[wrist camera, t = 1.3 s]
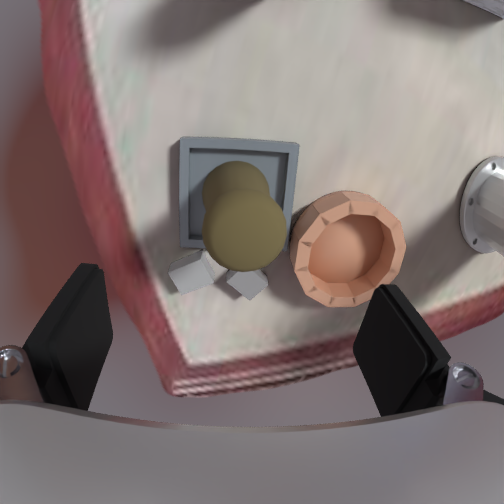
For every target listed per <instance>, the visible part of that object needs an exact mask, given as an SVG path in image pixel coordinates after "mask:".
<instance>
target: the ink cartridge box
mask: <svg viewBox="0 0 504 504" xmlns="http://www.w3.org/2000/svg"><path fill="white" fill-rule="evenodd" d="M463 1H466V2H468V3H471V4H473V5H475V6H478V7H480V8H482V9H484V10H486V11H489V12H491V13H493V14H495V15H497V16H499V17H501V18H503V19H504V0H463Z"/></svg>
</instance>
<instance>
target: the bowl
mask: <svg viewBox="0 0 504 504" xmlns="http://www.w3.org/2000/svg"><path fill="white" fill-rule="evenodd" d="M405 250H406V243H405V239H404V234H403V230H402V226H401V222H400V220H398V219H397V218H396V217H395V216H394V215H393V214H392V213H391V212H389V211H388V210H387V209H386V208H385V207H384V206H383V205H381V204H380V203H379V202H378V201H376V200H375V199H374V198H372V197H371V196H370V195H366V194H362V193H360V192H355V191H338V192H333V193H330V194H327V195H325V196H323V197H321V198H319V199H317V200H316V201H314V202H313V203H312V204H310V205H309V206H308V207H307V208H306V209H305V210H304V211H303V213H302V214H301V215H300V217H299V218H298V220H297V221H296V223H295V225H294V228H293V231H292V233H291V238H290V260H291V263H292V265H293V268H294V271H295V273H296V275H297V277H298V279H299V282H300V284H301V286H302V288H303V290H304V292H305V294H306V295H307V296H309V297H311V298H312V299H314V300H316V301H318V302H320V303H321V304H323V305H325V306H327V307H356V306H358V305H360V304H362V303H364V302H366V301H368V300H370V299H371V297H372V295H373V292H374V290H375V289H376V288H378V287H379V286H380V285H381V284H390V283H391V282H392V281H393V279H394V278H395V277H396V276H397V275H398V274H399V271H400V267H401V264H402V261H403V257H404V254H405Z"/></svg>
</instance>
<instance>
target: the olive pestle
mask: <svg viewBox="0 0 504 504" xmlns="http://www.w3.org/2000/svg"><path fill="white" fill-rule="evenodd" d="M202 198H203V204H204V207H205V210H206V213H205V215H204V220H203V225H202V237H203V243H204V245H205V247H206V249H207V251H208V252H209V254H210V256H211V257H212V258H213V259H214V260H215V261H216V262H217V263H218V264H219V265H221V266H223V267H225V268H227V269H229V270H232V271H238V272H249V271H256V270H258V269H261V268H263V267H265V266H267V265H268V264H270V263H271V262H272V261H273V260H275V259H276V258H277V256H278V255H279V253H280V252H281V250H282V249H283V247H284V243H285V240H286V236H287V226H286V219H285V216H284V214H283V211H282V209H281V208H280V206H279V205H278V204H277V203H276V202H275V201H274V199H273V198H272V197H271V196H270V192H269V185H268V182H267V180H266V178H265V176H264V174H263V173H262V172H261V171H260V170H259V169H258V168H257V167H255V166H253V165H252V164H250V163H247V162H242V161H230V162H225V163H223V164H221V165H219V166H217V167H216V168H215V169H213V170H212V171H211V172H210V173H209V174H208V176H207V178H206V180H205V181H204V184H203V189H202Z"/></svg>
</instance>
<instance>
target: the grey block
mask: <svg viewBox="0 0 504 504" xmlns="http://www.w3.org/2000/svg"><path fill="white" fill-rule="evenodd" d="M226 282H227V283H228V284H229V285H231V286H232V287H233V288H234V289H236V290H237V291H238V292H239V293H241V294H242V295H243V296H244V297H246V298H247V299H248V300H251V299H252V298H253V297H255V296H256V295H257V294H258V293H259V292H261V291H262V290H263V289H264V288H265V287H266V286H268V280H267V275H266V274H264V273H263V272H262V271H261V270H260V269H258V270H256V271H249V272H238V271H232V270H229V271H228V272H227V277H226Z"/></svg>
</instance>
